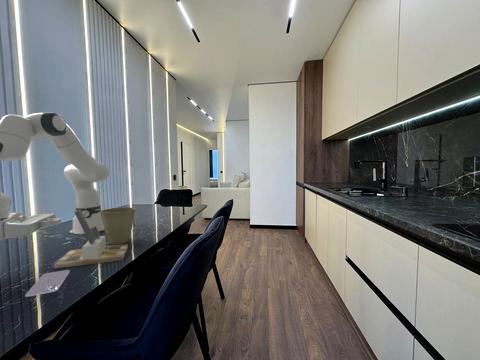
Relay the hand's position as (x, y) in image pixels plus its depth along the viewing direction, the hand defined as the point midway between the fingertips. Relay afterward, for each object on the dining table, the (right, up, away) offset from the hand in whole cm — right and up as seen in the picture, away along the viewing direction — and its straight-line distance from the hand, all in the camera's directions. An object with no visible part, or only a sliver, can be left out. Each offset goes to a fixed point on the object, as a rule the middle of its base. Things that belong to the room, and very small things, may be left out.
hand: (59, 221), depth 85 cm
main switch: (+10, -8, +4) cm, 13 cm away
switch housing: (+9, -14, +7) cm, 18 cm away
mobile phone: (+7, -17, -13) cm, 23 cm away
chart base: (+9, -16, +7) cm, 19 cm away
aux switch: (+7, -8, +11) cm, 15 cm away
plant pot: (+9, -15, +25) cm, 31 cm away
